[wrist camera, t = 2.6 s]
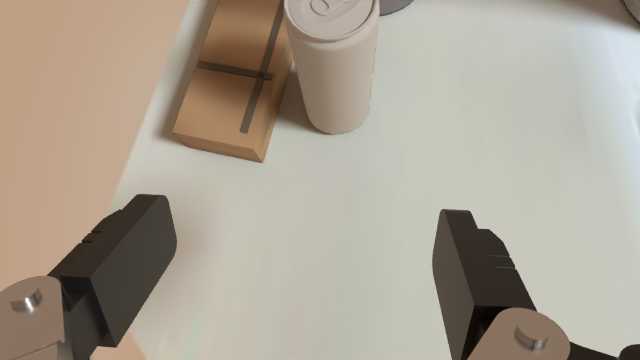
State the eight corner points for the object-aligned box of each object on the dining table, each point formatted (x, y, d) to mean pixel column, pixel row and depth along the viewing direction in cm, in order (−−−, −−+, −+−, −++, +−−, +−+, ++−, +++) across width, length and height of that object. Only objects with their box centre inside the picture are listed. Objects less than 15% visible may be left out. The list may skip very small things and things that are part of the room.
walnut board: (271, -94, 37) (264, -128, 34) (335, -86, 36) (333, -120, 33) (188, 147, 31) (171, 131, 28) (262, 163, 30) (253, 148, 27)
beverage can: (382, 112, 30) (402, 1, 19) (332, 150, 30) (321, 60, 18) (342, 69, 32) (337, -59, 20) (294, 105, 31) (261, -6, 19)
